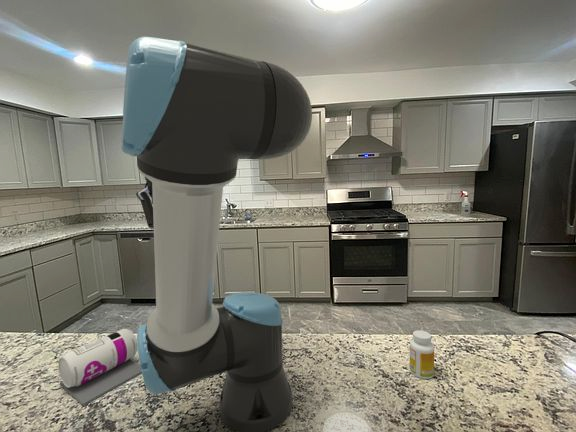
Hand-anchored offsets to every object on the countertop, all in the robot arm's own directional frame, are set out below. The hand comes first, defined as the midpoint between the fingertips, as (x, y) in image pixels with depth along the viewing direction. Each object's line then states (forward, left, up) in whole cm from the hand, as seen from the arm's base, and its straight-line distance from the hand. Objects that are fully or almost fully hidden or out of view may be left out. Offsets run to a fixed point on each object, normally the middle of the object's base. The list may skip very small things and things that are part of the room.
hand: (165, 253), depth 75 cm
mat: (+6, +14, -29) cm, 33 cm away
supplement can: (+9, +6, -25) cm, 27 cm away
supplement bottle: (-60, -28, -29) cm, 72 cm away
